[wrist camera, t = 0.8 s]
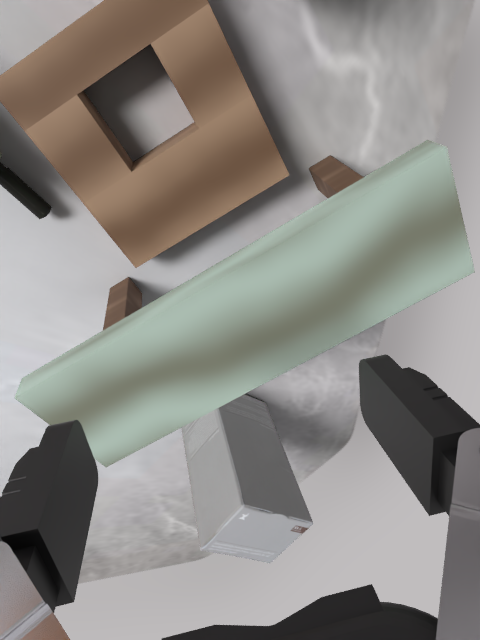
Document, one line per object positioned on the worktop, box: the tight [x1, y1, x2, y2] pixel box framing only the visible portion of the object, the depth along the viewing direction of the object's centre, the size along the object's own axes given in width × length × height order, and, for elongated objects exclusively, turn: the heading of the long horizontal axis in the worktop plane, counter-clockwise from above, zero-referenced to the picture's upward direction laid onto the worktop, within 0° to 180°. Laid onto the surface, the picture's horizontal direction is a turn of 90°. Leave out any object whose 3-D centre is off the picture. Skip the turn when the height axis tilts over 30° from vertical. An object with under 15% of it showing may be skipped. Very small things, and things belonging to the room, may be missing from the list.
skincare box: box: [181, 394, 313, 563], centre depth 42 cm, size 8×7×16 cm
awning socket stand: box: [0, 0, 475, 467], centre depth 25 cm, size 19×23×18 cm
